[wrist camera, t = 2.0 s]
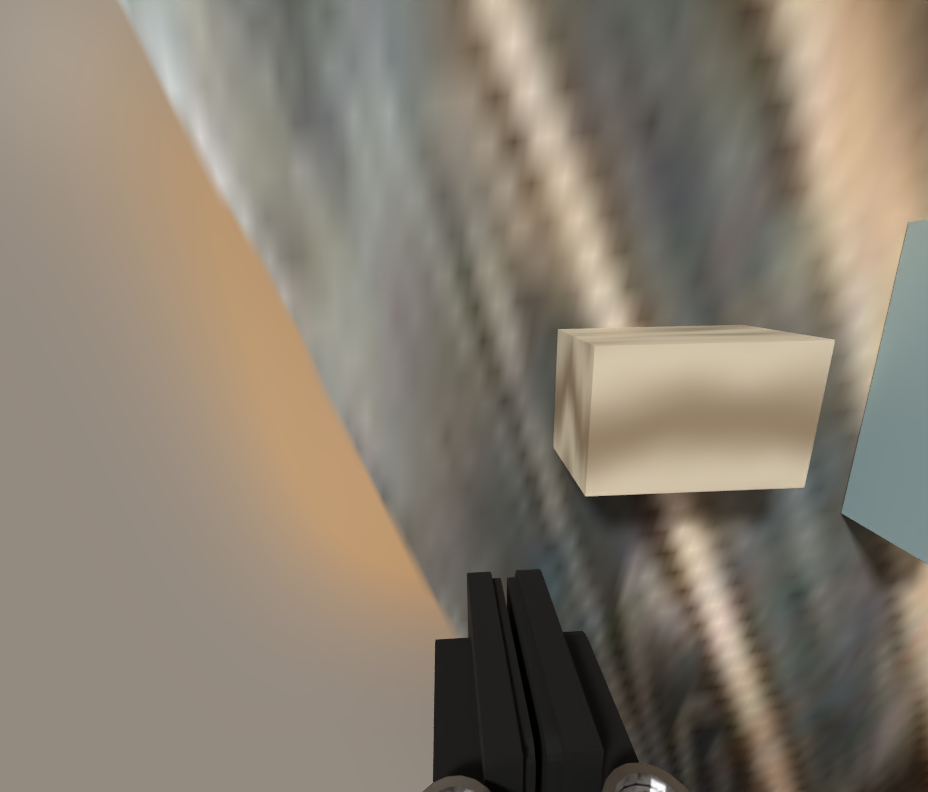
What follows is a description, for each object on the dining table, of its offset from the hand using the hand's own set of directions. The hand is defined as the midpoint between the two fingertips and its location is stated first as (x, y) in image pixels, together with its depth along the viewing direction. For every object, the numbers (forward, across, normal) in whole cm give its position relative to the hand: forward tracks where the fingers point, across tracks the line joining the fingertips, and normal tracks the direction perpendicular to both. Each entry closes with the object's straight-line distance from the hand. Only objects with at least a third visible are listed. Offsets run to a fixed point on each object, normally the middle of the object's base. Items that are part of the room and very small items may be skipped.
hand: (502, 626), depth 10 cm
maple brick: (+19, -12, -1) cm, 23 cm away
